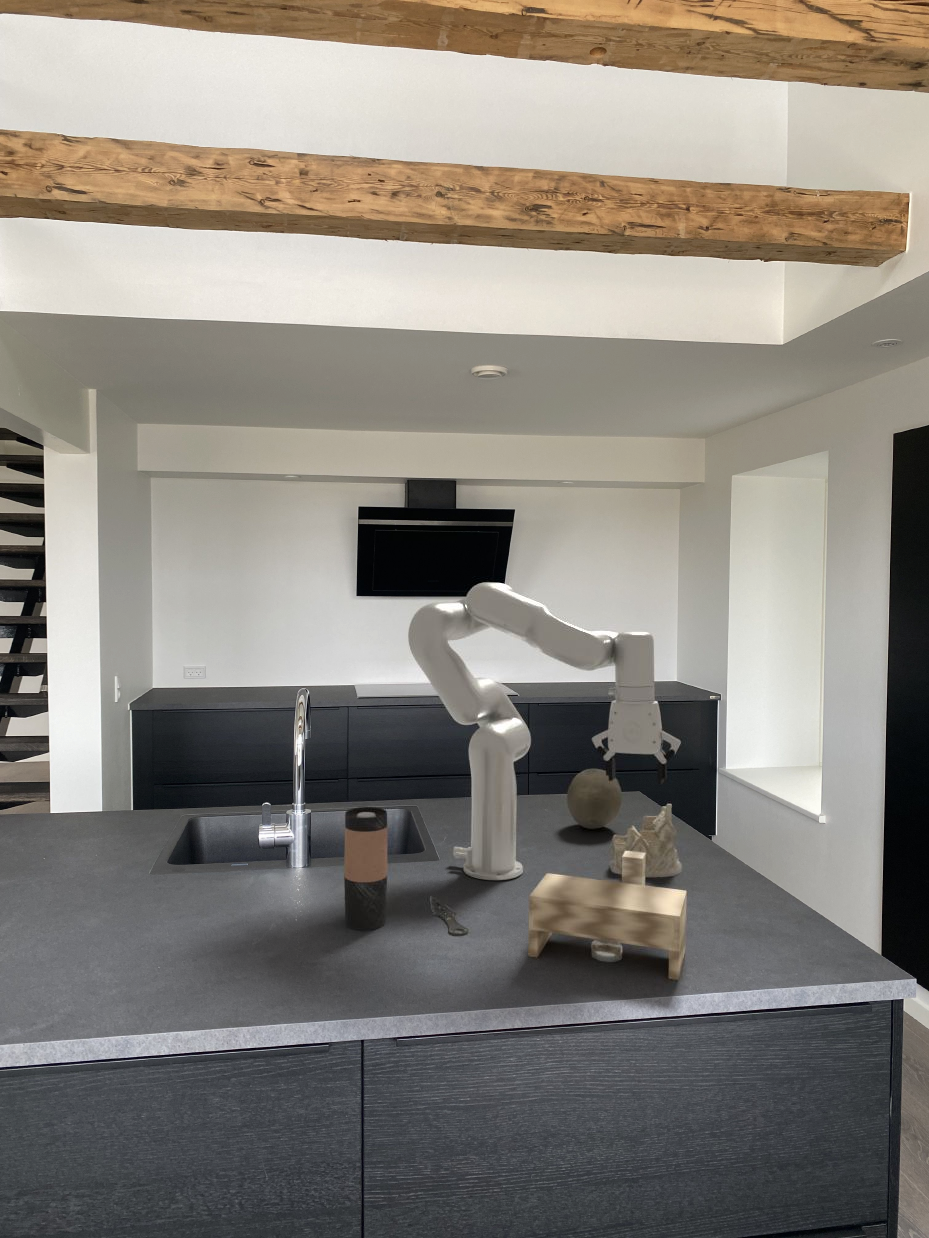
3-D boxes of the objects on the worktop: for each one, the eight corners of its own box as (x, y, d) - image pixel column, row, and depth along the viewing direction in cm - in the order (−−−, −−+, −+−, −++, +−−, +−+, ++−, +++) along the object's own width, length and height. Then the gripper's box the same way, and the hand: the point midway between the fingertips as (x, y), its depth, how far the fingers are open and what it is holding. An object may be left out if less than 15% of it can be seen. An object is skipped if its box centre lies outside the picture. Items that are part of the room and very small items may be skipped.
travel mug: (393, 917, 156) (394, 809, 155) (375, 933, 149) (376, 819, 148) (355, 912, 158) (356, 805, 158) (336, 927, 151) (337, 815, 150)
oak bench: (528, 956, 140) (528, 896, 140) (546, 928, 152) (547, 873, 151) (678, 980, 132) (679, 916, 132) (685, 949, 144) (686, 890, 144)
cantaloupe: (554, 827, 216) (555, 768, 215) (589, 818, 225) (590, 761, 225) (598, 840, 205) (599, 778, 205) (633, 829, 215) (635, 770, 214)
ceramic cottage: (678, 855, 194) (676, 790, 193) (684, 882, 178) (681, 812, 177) (609, 855, 197) (606, 791, 196) (608, 882, 181) (605, 812, 180)
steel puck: (588, 960, 140) (589, 948, 140) (594, 948, 144) (594, 936, 144) (619, 965, 138) (619, 952, 138) (624, 952, 143) (624, 941, 143)
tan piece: (597, 934, 150) (598, 889, 149) (619, 889, 172) (620, 849, 172) (632, 939, 148) (633, 893, 148) (649, 893, 170) (650, 853, 170)
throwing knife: (449, 938, 148) (449, 934, 148) (419, 897, 167) (419, 894, 167) (473, 935, 149) (473, 932, 149) (441, 895, 168) (441, 892, 168)
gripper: (587, 695, 168) (588, 782, 169) (676, 697, 162) (678, 788, 162) (596, 691, 175) (597, 774, 176) (682, 693, 169) (683, 780, 169)
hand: (636, 781), depth 169 cm, fingers open, 9 cm apart
